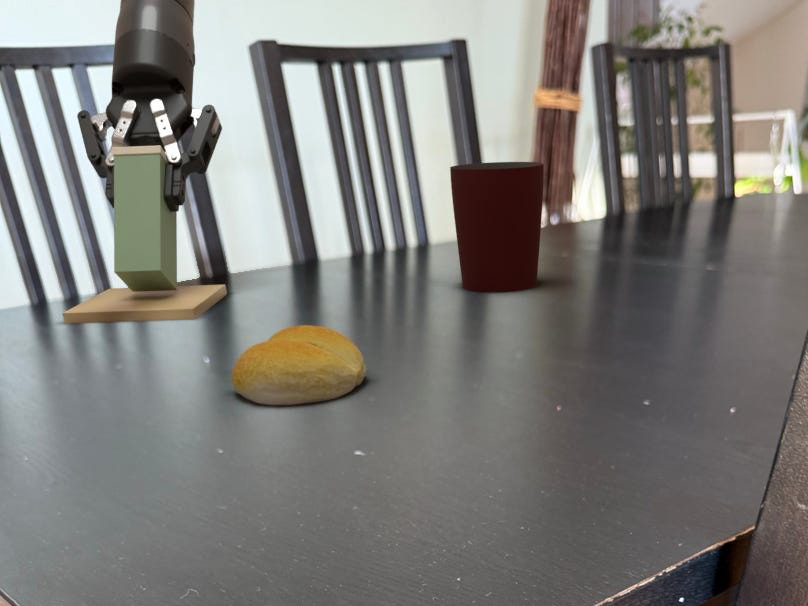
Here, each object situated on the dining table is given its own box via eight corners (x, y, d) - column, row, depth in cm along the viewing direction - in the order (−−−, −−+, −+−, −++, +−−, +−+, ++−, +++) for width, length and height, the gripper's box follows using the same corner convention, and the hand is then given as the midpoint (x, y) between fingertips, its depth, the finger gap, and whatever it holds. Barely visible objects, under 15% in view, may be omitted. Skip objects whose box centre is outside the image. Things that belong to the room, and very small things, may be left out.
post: (112, 271, 87) (112, 146, 88) (132, 292, 92) (131, 173, 93) (161, 270, 87) (160, 144, 88) (178, 291, 92) (177, 172, 92)
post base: (65, 326, 86) (61, 312, 85) (111, 300, 96) (108, 288, 95) (195, 322, 85) (193, 308, 85) (227, 296, 96) (225, 284, 95)
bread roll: (214, 407, 62) (203, 344, 60) (282, 371, 69) (274, 315, 67) (327, 414, 59) (319, 350, 57) (385, 377, 66) (380, 318, 64)
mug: (469, 275, 102) (465, 160, 96) (551, 274, 100) (551, 158, 94) (447, 296, 91) (441, 170, 86) (538, 296, 90) (538, 167, 84)
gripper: (66, 29, 90) (52, 183, 86) (214, 22, 90) (206, 176, 86) (99, 92, 97) (88, 236, 93) (236, 85, 97) (230, 229, 93)
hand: (145, 206), depth 90 cm, fingers closed on post, 4 cm apart
